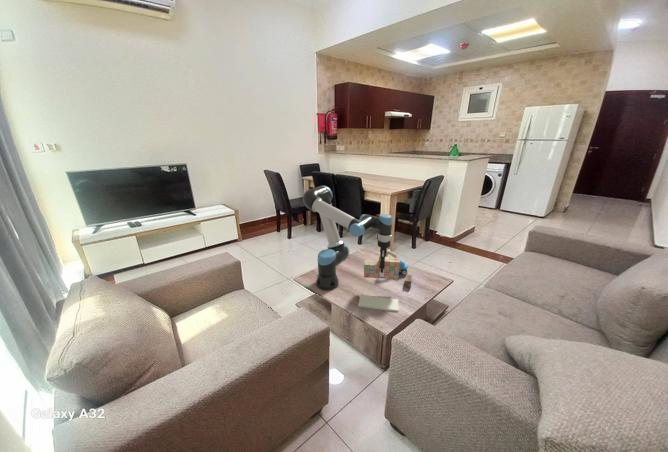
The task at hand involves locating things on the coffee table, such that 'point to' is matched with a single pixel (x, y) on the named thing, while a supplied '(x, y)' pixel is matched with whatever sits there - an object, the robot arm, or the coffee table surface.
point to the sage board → (378, 303)
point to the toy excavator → (402, 264)
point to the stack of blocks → (389, 268)
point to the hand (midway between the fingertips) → (381, 273)
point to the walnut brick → (408, 281)
